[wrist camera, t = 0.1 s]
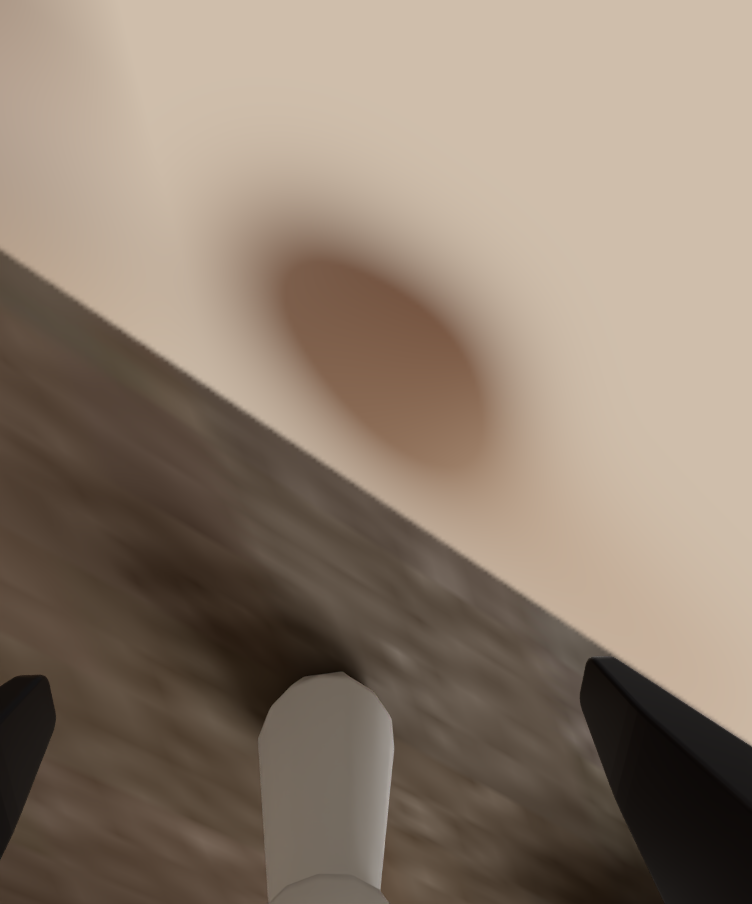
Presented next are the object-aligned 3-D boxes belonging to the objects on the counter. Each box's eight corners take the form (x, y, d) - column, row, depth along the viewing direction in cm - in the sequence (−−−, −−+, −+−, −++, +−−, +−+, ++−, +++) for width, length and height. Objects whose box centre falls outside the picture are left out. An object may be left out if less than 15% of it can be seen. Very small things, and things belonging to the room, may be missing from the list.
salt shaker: (259, 660, 24) (181, 943, 12) (381, 644, 25) (436, 898, 12) (273, 777, 25) (215, 1172, 12) (392, 759, 25) (457, 1121, 13)
